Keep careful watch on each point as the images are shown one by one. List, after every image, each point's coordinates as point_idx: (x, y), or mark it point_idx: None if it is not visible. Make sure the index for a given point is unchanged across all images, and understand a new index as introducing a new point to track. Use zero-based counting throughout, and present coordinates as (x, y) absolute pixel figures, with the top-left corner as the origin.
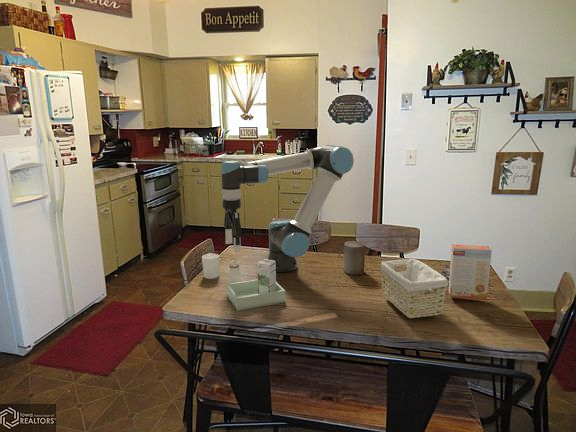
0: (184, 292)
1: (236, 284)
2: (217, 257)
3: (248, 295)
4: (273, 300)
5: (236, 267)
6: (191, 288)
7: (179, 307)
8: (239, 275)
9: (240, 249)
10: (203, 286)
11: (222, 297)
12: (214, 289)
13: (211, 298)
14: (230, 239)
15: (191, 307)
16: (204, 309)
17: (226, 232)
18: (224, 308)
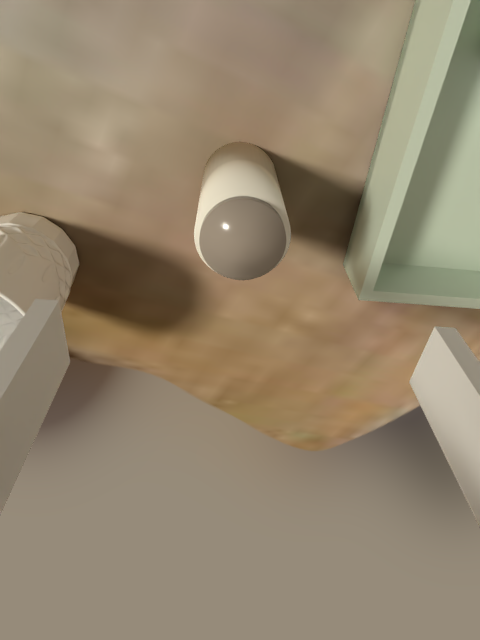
0: (201, 395)
1: (385, 244)
2: (11, 302)
3: (449, 175)
4: None
5: (285, 234)
6: (168, 367)
7: (331, 428)
8: (275, 183)
9: (468, 351)
10: (166, 322)
11: (348, 287)
12: (230, 290)
13: (327, 328)
14: (42, 355)
15: (358, 402)
16: (409, 373)
17: (9, 488)
18: (462, 313)
